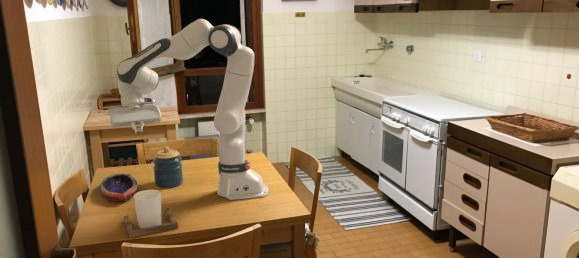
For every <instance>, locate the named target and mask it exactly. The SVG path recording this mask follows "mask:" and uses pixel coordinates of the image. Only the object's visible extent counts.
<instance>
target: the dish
mask: <svg viewBox="0 0 579 258" xmlns="http://www.w3.org/2000/svg"><path fill="white" fill-rule="evenodd" d="M137 189H138V181H137V180H136V179H135V177H133V175H131V174H130V173H114V174H110V175H108V176H107V177H105V178H103V179H102V181H101V182H100V185H99V190H100V192H101V194H102V195H103V197H104V198H105V199H107V200H109V201H113V202H126V201H129V200H130V199H131V198H132V197H133V196H134V194H136V193H137Z"/></svg>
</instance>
